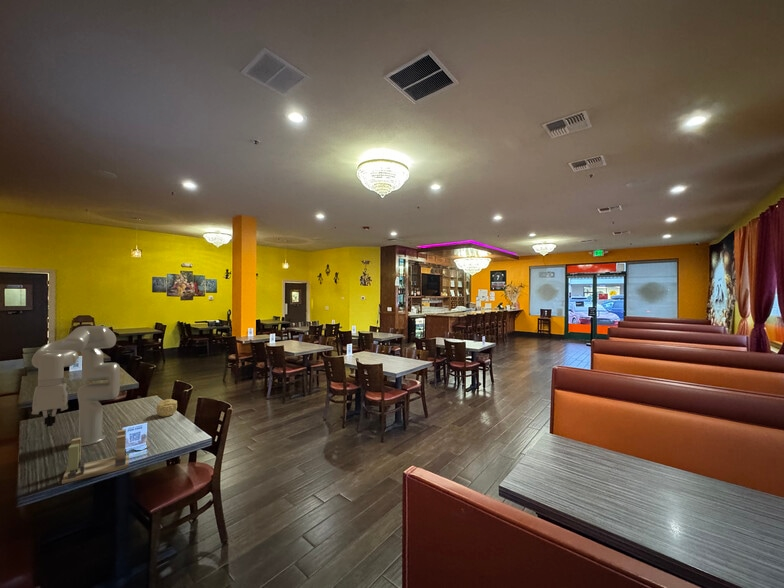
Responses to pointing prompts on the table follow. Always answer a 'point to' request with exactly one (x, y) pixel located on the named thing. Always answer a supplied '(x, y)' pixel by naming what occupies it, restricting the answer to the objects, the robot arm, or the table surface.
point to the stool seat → (99, 462)
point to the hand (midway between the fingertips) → (49, 425)
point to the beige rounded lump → (166, 407)
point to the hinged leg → (73, 458)
